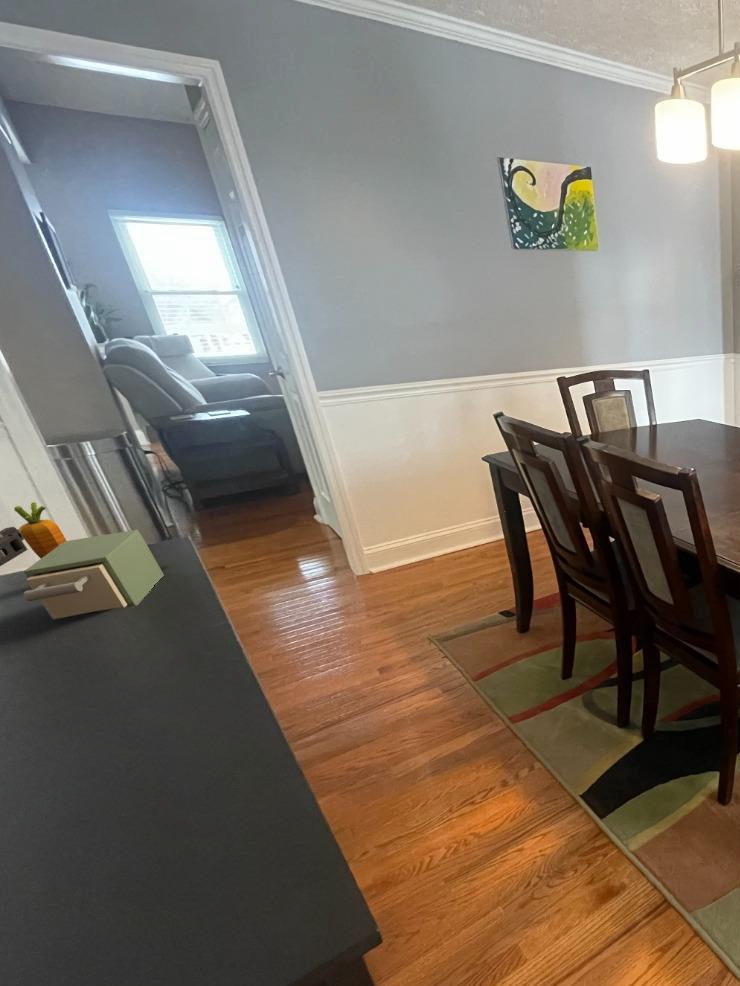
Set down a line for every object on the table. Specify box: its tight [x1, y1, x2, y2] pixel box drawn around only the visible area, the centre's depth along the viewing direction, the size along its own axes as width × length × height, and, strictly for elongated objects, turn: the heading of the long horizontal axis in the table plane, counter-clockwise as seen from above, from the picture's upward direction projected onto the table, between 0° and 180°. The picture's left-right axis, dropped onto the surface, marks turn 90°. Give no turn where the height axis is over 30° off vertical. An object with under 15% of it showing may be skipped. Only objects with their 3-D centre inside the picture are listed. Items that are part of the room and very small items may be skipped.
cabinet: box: [23, 529, 165, 608], centre depth 103 cm, size 13×10×10 cm
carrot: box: [13, 501, 67, 559], centre depth 109 cm, size 5×5×15 cm
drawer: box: [23, 562, 127, 620], centre depth 99 cm, size 16×9×8 cm, turn 25°
